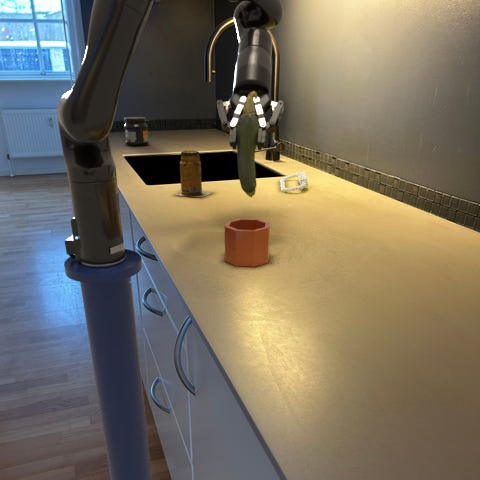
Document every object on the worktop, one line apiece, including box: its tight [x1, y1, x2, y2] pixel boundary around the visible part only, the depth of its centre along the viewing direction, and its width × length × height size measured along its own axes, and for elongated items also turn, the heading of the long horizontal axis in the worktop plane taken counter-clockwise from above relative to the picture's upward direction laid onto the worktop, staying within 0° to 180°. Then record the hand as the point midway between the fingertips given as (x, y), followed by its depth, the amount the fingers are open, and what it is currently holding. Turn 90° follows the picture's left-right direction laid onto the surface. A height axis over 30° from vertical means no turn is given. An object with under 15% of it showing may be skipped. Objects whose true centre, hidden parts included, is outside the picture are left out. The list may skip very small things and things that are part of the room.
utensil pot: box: [224, 217, 271, 268], centre depth 100 cm, size 8×8×7 cm
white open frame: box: [279, 171, 309, 193], centre depth 159 cm, size 20×8×4 cm, turn 177°
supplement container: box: [123, 116, 150, 148], centre depth 235 cm, size 10×10×12 cm
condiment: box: [175, 150, 213, 198], centre depth 148 cm, size 7×8×12 cm
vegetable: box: [236, 91, 259, 198], centre depth 101 cm, size 4×4×20 cm
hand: (246, 146), depth 100 cm, fingers closed on vegetable, 4 cm apart
